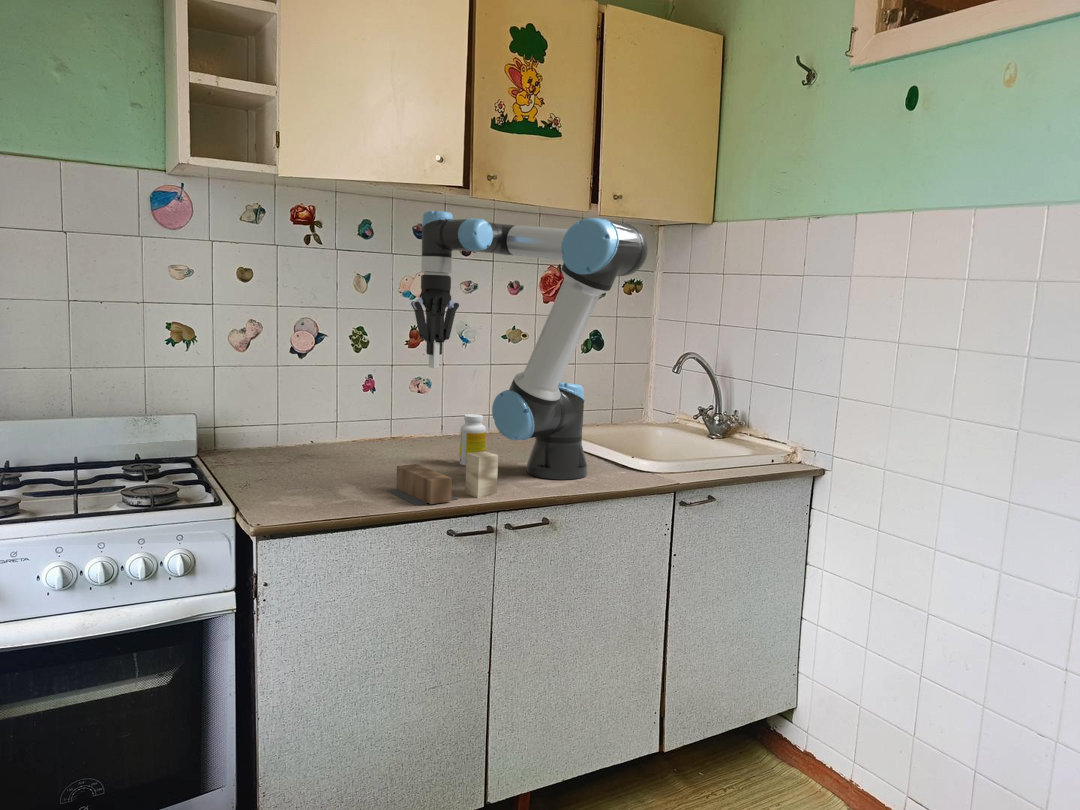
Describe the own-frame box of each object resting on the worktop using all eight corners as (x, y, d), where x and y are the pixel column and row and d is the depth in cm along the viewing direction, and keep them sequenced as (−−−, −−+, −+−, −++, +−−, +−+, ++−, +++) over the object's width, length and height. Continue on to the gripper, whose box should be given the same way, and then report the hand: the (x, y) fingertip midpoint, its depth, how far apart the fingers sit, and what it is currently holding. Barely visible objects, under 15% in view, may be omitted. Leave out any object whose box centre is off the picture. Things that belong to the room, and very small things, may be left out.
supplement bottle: (490, 465, 203) (492, 416, 201) (470, 468, 198) (472, 418, 196) (473, 460, 207) (475, 412, 205) (454, 463, 203) (455, 414, 201)
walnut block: (417, 463, 177) (451, 478, 165) (416, 485, 178) (451, 501, 166) (397, 466, 174) (431, 480, 162) (396, 488, 175) (430, 504, 163)
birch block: (484, 490, 178) (485, 451, 176) (496, 495, 174) (498, 455, 172) (465, 492, 175) (466, 453, 173) (477, 498, 171) (479, 457, 169)
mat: (427, 486, 179) (427, 484, 179) (457, 499, 169) (457, 498, 169) (387, 491, 173) (387, 490, 173) (416, 505, 163) (416, 504, 163)
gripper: (450, 275, 205) (448, 365, 209) (405, 272, 197) (404, 366, 201) (466, 275, 199) (463, 368, 203) (420, 273, 191) (418, 369, 195)
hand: (433, 367), depth 202 cm, fingers closed
